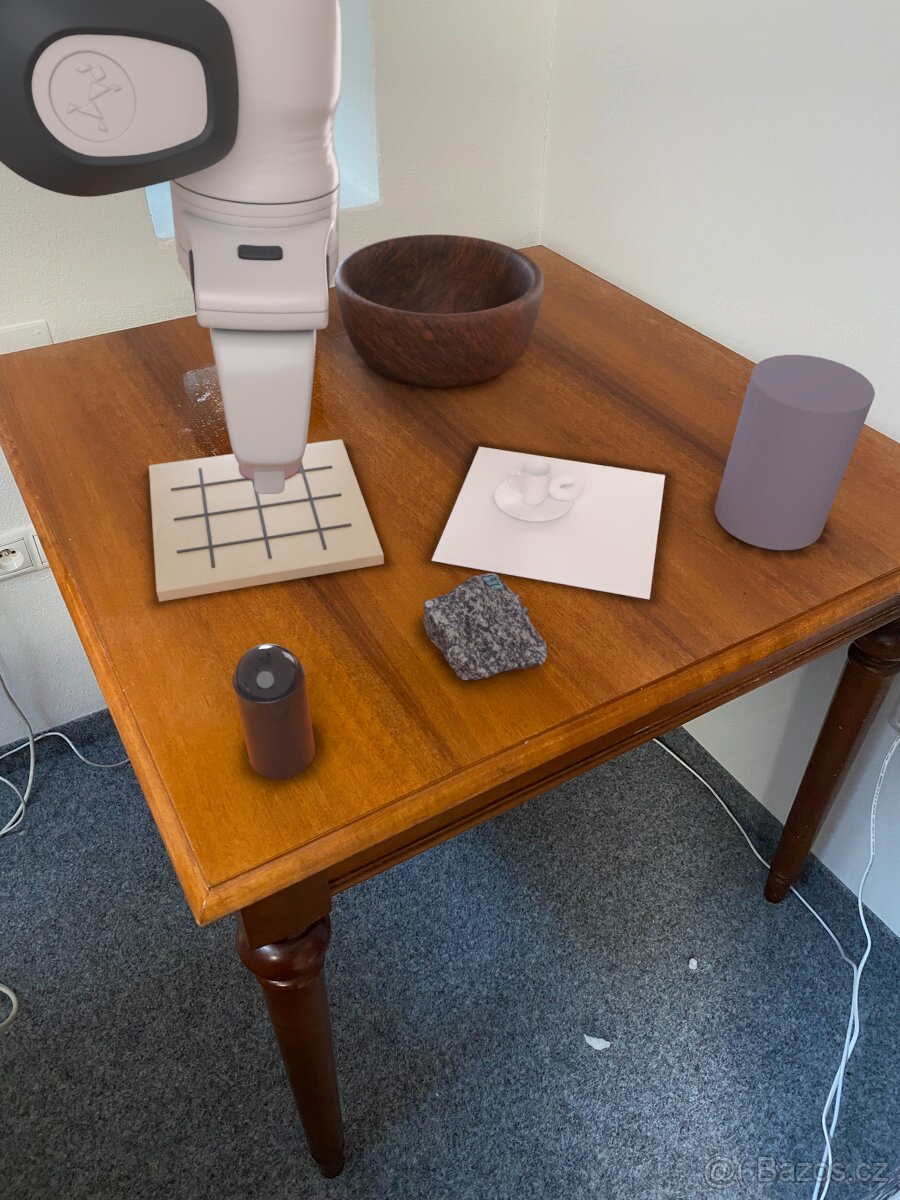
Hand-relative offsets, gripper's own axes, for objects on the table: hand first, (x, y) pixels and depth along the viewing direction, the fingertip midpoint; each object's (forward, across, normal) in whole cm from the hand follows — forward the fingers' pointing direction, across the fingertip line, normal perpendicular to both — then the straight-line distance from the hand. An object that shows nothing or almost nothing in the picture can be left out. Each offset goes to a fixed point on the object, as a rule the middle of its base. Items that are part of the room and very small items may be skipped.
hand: (266, 444), depth 57 cm
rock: (+19, +1, +17) cm, 26 cm away
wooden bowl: (+20, -51, +22) cm, 59 cm away
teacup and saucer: (+19, -15, +28) cm, 37 cm away
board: (+21, -19, -1) cm, 29 cm away
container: (+17, -11, +48) cm, 52 cm away
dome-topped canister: (+20, +10, 0) cm, 23 cm away
